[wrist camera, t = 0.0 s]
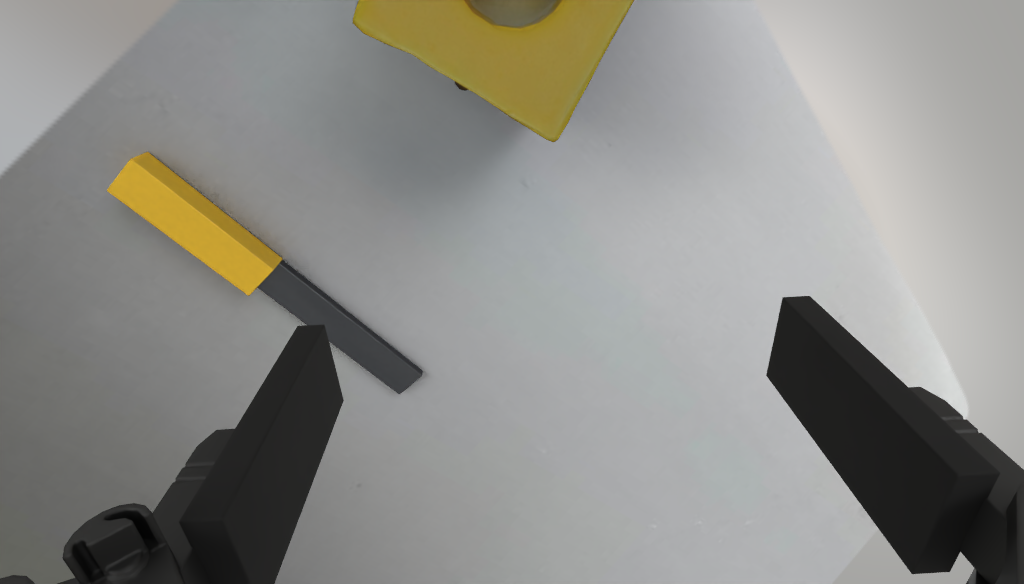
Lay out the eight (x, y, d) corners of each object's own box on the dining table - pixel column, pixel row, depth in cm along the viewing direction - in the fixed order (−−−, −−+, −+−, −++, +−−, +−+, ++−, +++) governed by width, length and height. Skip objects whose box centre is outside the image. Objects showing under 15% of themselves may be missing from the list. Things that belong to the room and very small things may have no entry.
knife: (124, 181, 34) (106, 190, 33) (147, 151, 33) (130, 158, 32) (399, 390, 43) (396, 405, 41) (424, 370, 42) (421, 384, 40)
